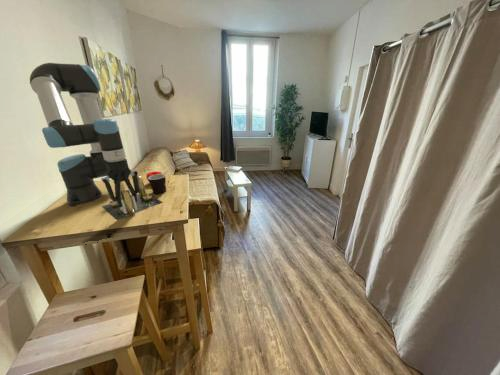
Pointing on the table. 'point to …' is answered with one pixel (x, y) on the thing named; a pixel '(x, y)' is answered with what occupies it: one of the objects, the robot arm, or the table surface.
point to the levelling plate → (140, 206)
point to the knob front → (127, 202)
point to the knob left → (143, 190)
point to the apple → (152, 174)
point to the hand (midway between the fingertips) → (130, 210)
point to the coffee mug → (158, 183)
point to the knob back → (114, 203)
